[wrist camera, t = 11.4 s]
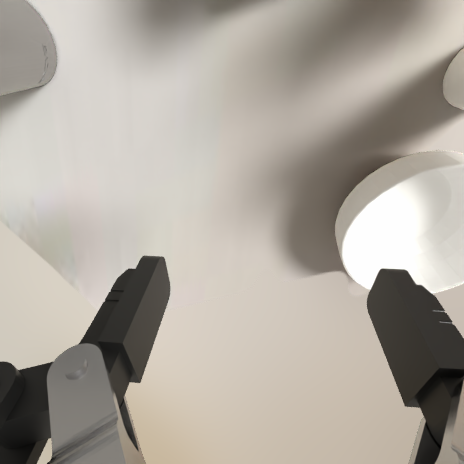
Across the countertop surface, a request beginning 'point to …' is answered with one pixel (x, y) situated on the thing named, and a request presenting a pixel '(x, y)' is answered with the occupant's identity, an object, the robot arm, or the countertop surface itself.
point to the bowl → (407, 221)
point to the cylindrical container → (455, 81)
